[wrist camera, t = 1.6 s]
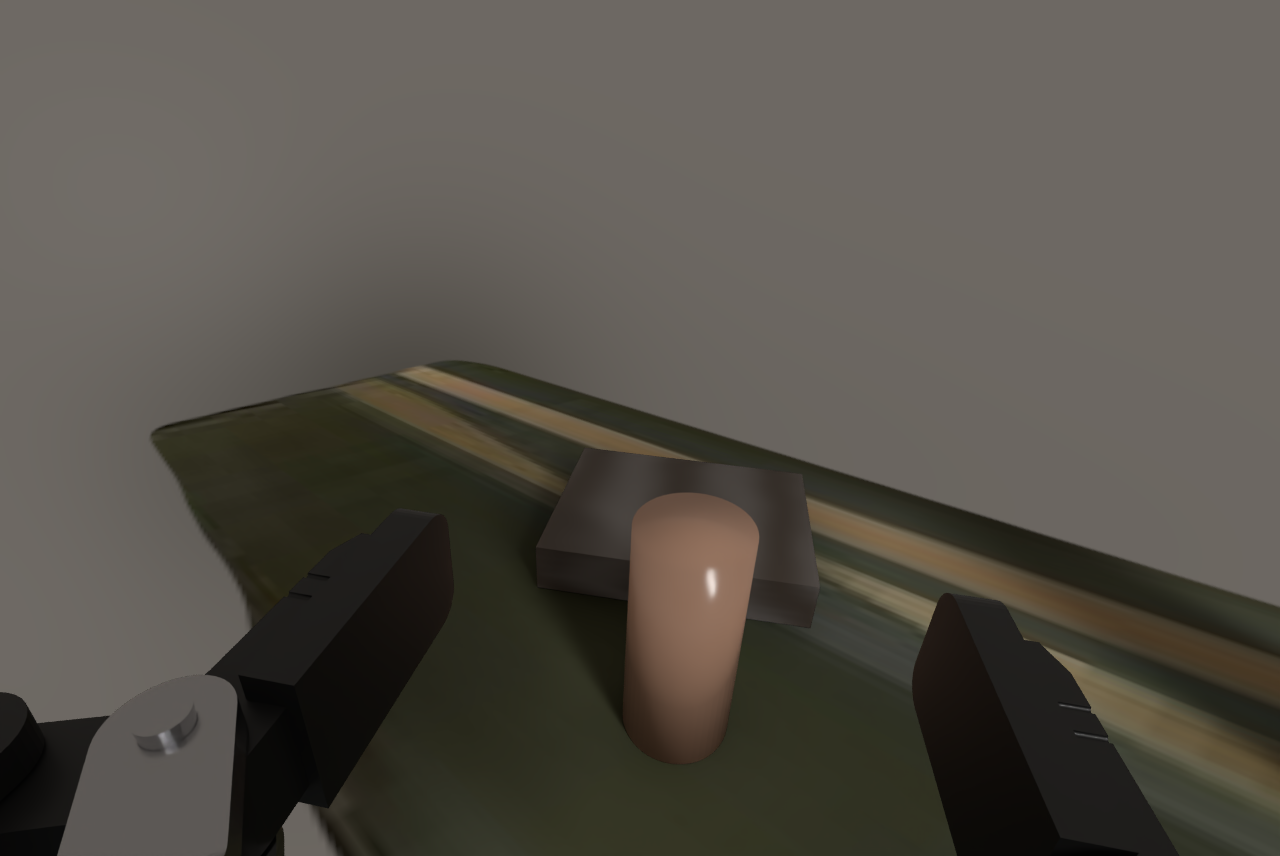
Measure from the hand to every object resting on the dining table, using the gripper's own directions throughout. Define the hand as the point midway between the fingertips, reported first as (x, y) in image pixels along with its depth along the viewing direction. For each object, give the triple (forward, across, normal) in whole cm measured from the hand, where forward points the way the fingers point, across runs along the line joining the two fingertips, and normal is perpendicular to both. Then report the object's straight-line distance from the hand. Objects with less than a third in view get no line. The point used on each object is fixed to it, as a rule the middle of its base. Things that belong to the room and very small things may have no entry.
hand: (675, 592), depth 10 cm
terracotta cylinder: (+12, 0, +18) cm, 22 cm away
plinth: (+25, +1, +18) cm, 31 cm away
